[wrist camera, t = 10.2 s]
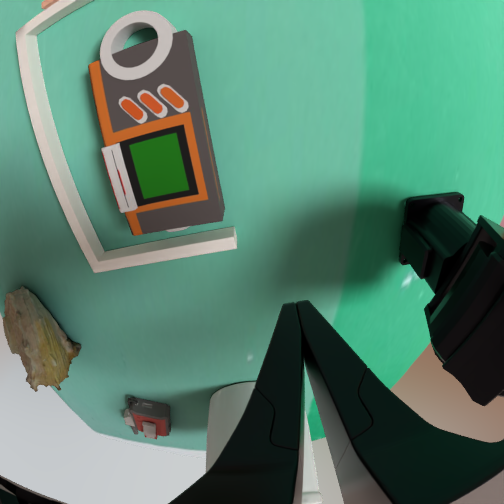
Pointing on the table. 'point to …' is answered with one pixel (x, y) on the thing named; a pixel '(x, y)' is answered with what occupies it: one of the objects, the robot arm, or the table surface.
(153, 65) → the electronic device
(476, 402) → the robot arm
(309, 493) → the utensil holder
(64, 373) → the seashell
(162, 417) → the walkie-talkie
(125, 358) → the table surface
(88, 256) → the docking bay
